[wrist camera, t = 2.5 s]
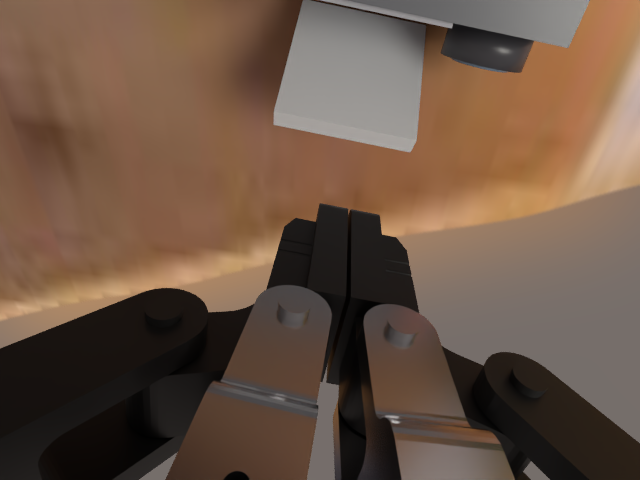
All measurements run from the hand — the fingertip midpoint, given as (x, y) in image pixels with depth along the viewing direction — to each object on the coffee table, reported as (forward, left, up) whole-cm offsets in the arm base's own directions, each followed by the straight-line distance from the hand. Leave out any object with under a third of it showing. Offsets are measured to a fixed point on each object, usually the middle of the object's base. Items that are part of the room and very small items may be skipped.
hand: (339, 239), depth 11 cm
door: (-4, 0, -18) cm, 18 cm away
